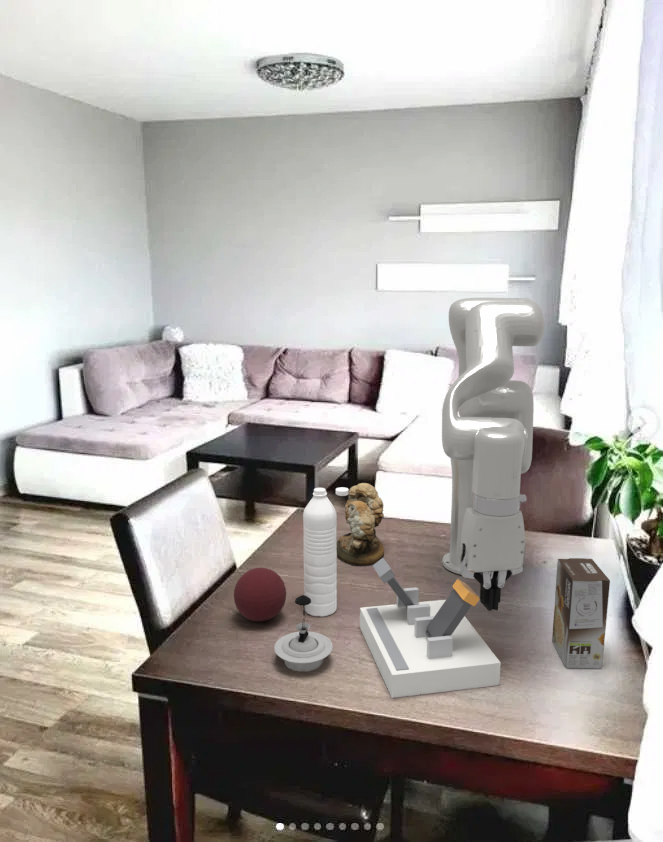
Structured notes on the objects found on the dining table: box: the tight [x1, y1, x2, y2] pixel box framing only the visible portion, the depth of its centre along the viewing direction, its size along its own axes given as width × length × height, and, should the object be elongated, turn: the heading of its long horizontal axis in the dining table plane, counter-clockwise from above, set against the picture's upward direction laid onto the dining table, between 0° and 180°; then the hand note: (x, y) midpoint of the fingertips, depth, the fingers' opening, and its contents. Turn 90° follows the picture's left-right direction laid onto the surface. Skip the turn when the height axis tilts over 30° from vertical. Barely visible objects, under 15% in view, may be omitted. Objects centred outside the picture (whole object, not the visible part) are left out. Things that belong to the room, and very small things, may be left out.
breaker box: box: [359, 586, 502, 699], centre depth 117 cm, size 18×22×7 cm
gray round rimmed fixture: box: [273, 594, 334, 672], centre depth 114 cm, size 12×10×10 cm
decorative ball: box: [233, 567, 287, 622], centre depth 129 cm, size 10×10×10 cm
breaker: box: [372, 557, 415, 608], centre depth 122 cm, size 2×5×11 cm
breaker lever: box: [425, 578, 480, 638], centre depth 112 cm, size 2×5×11 cm
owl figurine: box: [336, 482, 385, 567], centre depth 160 cm, size 18×12×17 cm, turn 5°
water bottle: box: [302, 486, 350, 617], centre depth 131 cm, size 9×6×25 cm
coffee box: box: [551, 557, 611, 670], centre depth 116 cm, size 9×6×16 cm
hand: (489, 606), depth 113 cm, fingers closed
